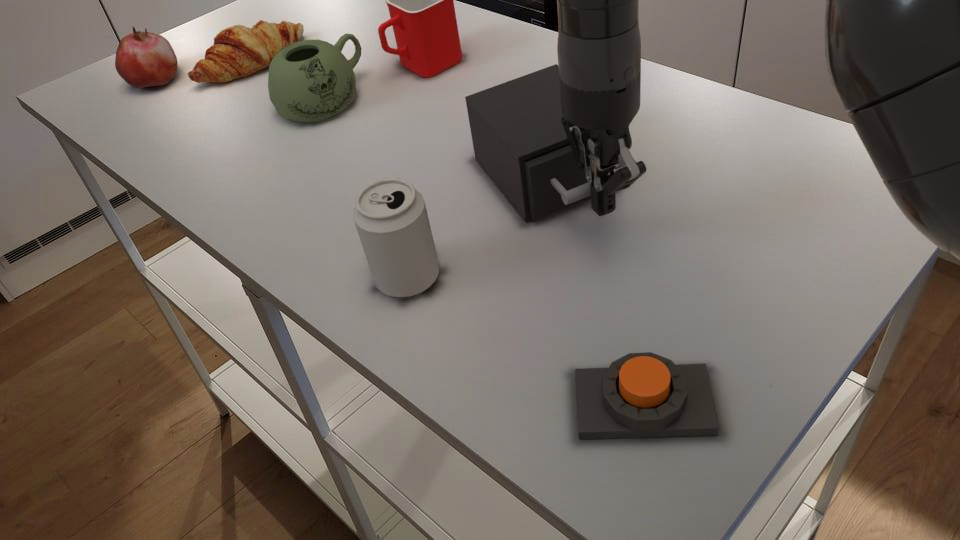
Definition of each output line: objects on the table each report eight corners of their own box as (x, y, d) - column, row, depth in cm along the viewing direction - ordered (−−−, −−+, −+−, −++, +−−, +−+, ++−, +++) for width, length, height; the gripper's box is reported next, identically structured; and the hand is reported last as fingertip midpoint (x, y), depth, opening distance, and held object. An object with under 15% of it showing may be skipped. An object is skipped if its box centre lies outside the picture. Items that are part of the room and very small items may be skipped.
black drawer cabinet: (619, 185, 91) (619, 118, 84) (525, 223, 88) (518, 157, 82) (560, 127, 101) (556, 63, 94) (475, 160, 98) (464, 96, 92)
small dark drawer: (639, 206, 87) (641, 151, 81) (551, 242, 84) (547, 188, 79) (564, 132, 99) (561, 79, 93) (486, 162, 96) (478, 110, 91)
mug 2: (436, 42, 122) (424, -22, 115) (468, 58, 117) (458, -8, 110) (376, 74, 117) (359, 9, 110) (406, 92, 112) (391, 25, 105)
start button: (666, 366, 68) (667, 354, 67) (672, 407, 65) (673, 395, 64) (617, 368, 69) (617, 356, 68) (621, 409, 66) (621, 397, 65)
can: (435, 302, 81) (414, 219, 73) (368, 302, 83) (340, 220, 74) (445, 254, 86) (427, 170, 78) (382, 254, 88) (357, 173, 79)
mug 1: (307, 139, 107) (288, 85, 101) (259, 109, 114) (239, 57, 108) (393, 88, 114) (381, 35, 108) (343, 63, 121) (329, 12, 115)
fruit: (119, 85, 126) (90, 29, 119) (171, 61, 129) (145, 5, 122) (140, 104, 120) (111, 46, 113) (194, 78, 124) (168, 21, 117)
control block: (704, 369, 71) (707, 349, 69) (718, 437, 66) (721, 417, 64) (575, 374, 72) (574, 355, 70) (579, 441, 67) (577, 422, 65)
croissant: (301, 49, 133) (278, 6, 131) (323, 38, 125) (299, -8, 122) (195, 102, 124) (168, 56, 121) (211, 94, 116) (182, 45, 113)
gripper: (530, 51, 74) (544, 191, 86) (601, 111, 65) (605, 258, 76) (597, 28, 75) (601, 168, 87) (675, 83, 66) (668, 231, 78)
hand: (603, 210), depth 82 cm, fingers closed
